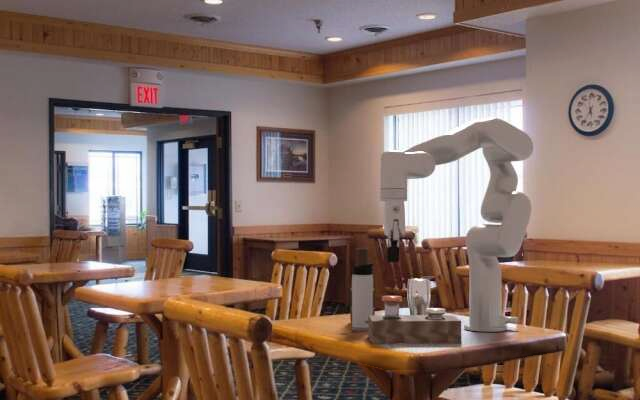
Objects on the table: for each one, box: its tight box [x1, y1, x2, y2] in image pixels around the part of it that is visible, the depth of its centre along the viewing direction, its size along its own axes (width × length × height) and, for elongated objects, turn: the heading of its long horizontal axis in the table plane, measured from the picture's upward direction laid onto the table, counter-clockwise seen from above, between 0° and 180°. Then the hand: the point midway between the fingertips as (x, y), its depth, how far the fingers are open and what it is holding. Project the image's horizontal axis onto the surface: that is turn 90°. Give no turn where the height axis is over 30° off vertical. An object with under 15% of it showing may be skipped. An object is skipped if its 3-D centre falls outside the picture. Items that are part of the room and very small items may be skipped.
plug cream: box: [425, 307, 446, 319], centre depth 210 cm, size 6×6×8 cm
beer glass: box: [406, 278, 431, 315], centre depth 229 cm, size 7×7×15 cm
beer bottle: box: [349, 247, 376, 324], centre depth 243 cm, size 8×8×24 cm
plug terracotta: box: [381, 295, 403, 319], centre depth 210 cm, size 6×6×8 cm
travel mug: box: [351, 262, 375, 332], centre depth 228 cm, size 6×7×20 cm
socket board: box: [367, 314, 462, 345], centre depth 210 cm, size 24×12×6 cm, turn 91°
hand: (392, 261), depth 210 cm, fingers closed
